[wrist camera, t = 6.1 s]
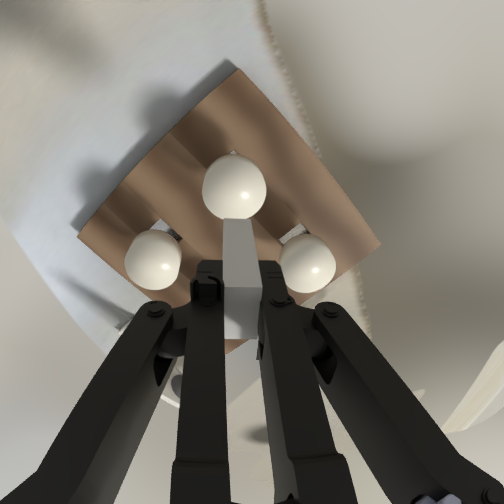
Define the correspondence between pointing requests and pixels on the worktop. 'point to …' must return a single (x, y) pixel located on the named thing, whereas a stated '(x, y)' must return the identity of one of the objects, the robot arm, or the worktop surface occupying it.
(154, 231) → the button
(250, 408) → the worktop surface
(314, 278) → the button
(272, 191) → the board
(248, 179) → the button
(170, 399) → the card
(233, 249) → the robot arm
